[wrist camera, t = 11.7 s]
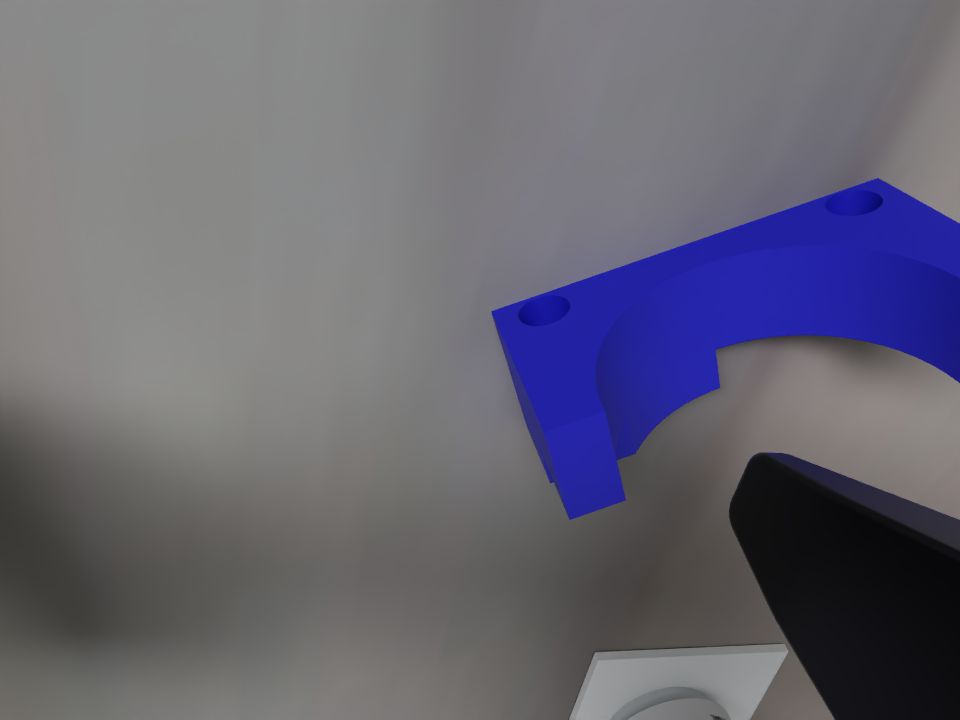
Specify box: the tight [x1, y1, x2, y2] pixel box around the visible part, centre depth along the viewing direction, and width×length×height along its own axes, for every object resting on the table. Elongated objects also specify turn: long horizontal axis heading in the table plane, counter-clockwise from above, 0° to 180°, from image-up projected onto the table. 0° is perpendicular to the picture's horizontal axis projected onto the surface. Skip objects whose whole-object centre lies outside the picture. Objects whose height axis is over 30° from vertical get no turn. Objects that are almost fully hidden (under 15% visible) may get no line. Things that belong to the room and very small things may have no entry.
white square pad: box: [569, 644, 789, 720], centre depth 36 cm, size 9×9×1 cm
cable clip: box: [491, 178, 960, 520], centre depth 22 cm, size 12×4×6 cm, turn 105°
